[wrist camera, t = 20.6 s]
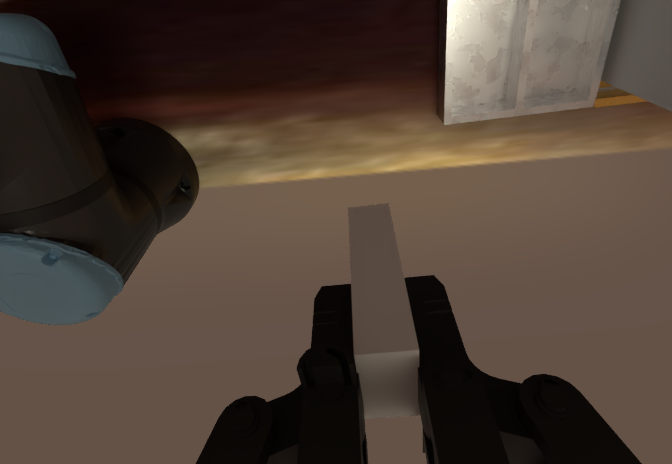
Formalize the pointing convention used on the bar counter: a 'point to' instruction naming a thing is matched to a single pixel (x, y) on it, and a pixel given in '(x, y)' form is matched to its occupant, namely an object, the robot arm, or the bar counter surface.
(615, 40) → the blanking panel
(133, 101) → the bar counter surface
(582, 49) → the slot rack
